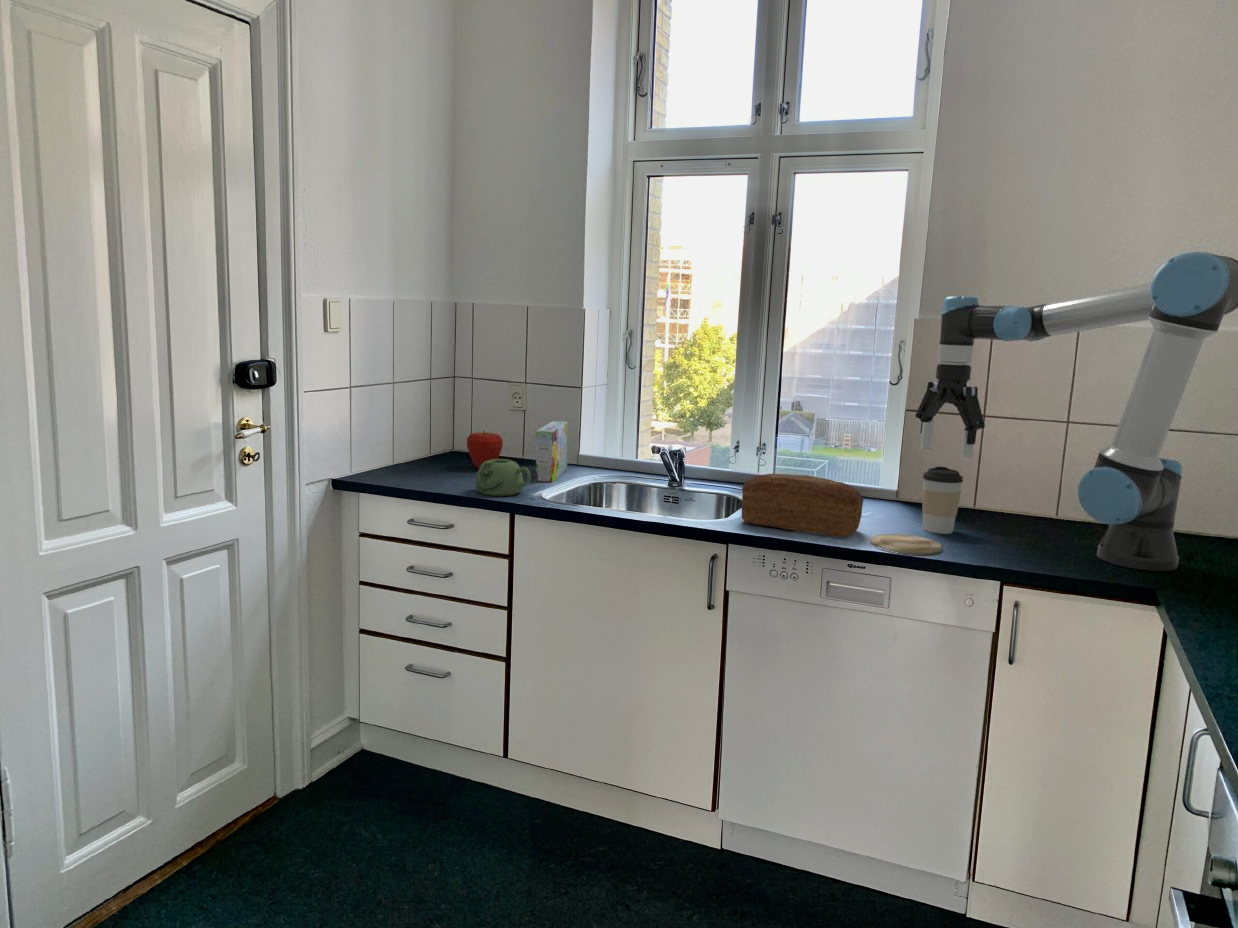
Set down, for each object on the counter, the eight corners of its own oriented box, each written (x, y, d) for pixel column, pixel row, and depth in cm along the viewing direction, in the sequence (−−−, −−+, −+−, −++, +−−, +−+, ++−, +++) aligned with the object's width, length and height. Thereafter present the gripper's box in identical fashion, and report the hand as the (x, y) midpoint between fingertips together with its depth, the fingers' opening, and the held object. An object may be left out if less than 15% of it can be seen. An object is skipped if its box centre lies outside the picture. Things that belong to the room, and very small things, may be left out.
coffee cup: (960, 536, 207) (967, 473, 205) (920, 533, 209) (926, 470, 206) (954, 527, 216) (960, 467, 213) (915, 524, 218) (921, 464, 215)
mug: (465, 493, 234) (465, 461, 233) (492, 485, 246) (493, 455, 244) (517, 501, 228) (517, 468, 226) (542, 492, 239) (543, 461, 238)
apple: (485, 473, 262) (485, 433, 260) (458, 469, 268) (458, 429, 266) (509, 468, 271) (510, 430, 269) (483, 464, 277) (483, 426, 275)
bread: (752, 514, 223) (755, 466, 221) (865, 530, 210) (869, 480, 208) (733, 525, 211) (735, 474, 209) (851, 543, 198) (855, 489, 196)
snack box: (550, 468, 274) (551, 420, 271) (567, 470, 273) (569, 421, 271) (534, 481, 253) (535, 429, 251) (553, 483, 253) (554, 430, 250)
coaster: (956, 552, 192) (956, 548, 192) (900, 557, 187) (901, 553, 187) (909, 535, 206) (909, 531, 206) (856, 539, 200) (857, 535, 200)
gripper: (1007, 367, 196) (997, 461, 199) (930, 360, 219) (922, 444, 222) (981, 367, 193) (971, 462, 197) (905, 359, 216) (897, 445, 219)
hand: (945, 453), depth 210 cm, fingers open, 13 cm apart
